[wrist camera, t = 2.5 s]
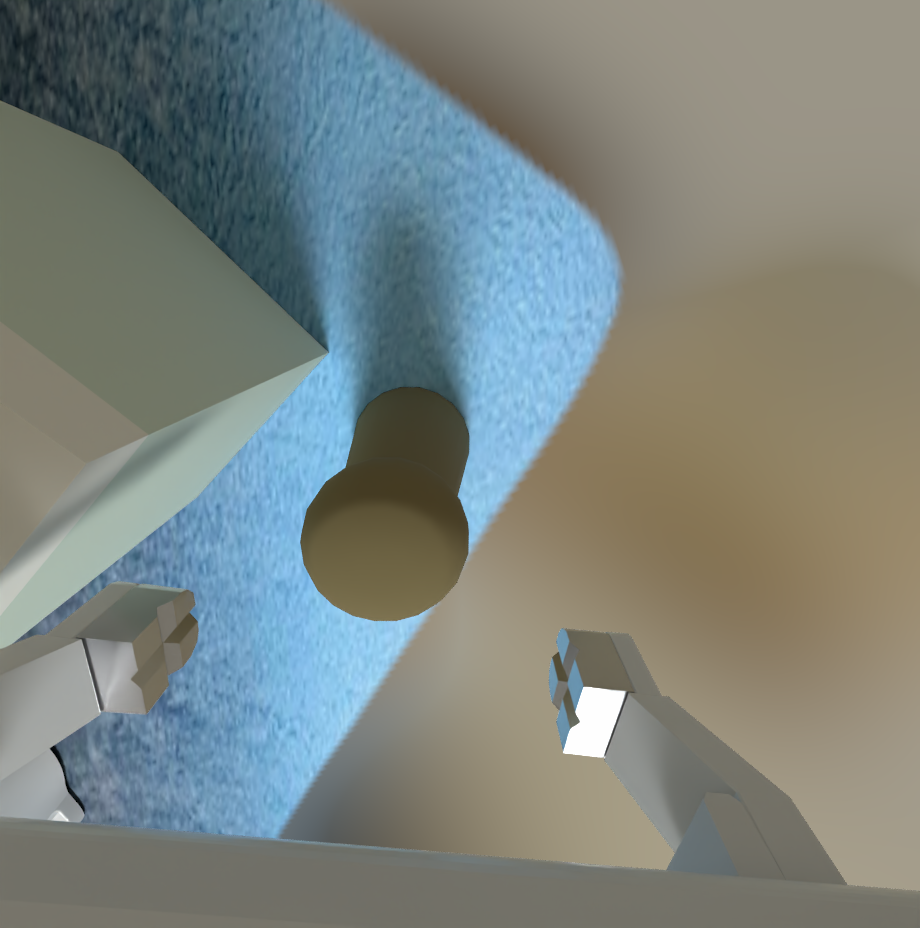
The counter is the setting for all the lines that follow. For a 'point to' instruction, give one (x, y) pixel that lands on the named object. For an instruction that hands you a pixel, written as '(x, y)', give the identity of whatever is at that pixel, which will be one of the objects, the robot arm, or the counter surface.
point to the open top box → (114, 363)
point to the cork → (392, 510)
